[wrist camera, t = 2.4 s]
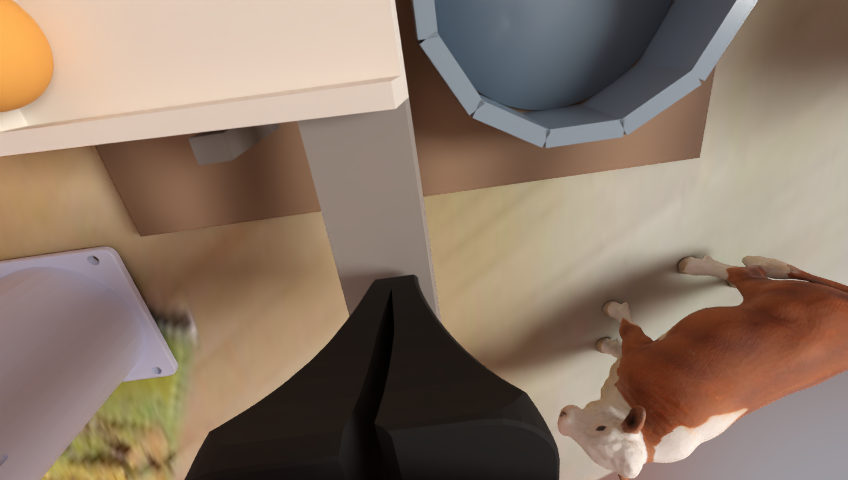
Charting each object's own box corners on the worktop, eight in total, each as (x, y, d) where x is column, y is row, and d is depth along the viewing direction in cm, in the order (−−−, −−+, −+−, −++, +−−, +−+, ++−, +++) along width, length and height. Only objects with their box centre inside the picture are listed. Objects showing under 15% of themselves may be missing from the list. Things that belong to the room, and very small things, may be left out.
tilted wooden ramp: (170, 319, 18) (115, 370, 15) (-17, -47, 12) (-164, -69, 9) (445, 311, 15) (437, 370, 13) (384, -142, 10) (345, -206, 7)
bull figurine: (516, 328, 23) (568, 465, 15) (761, 217, 20) (962, 317, 13) (545, 378, 25) (604, 521, 17) (773, 280, 22) (956, 400, 15)
